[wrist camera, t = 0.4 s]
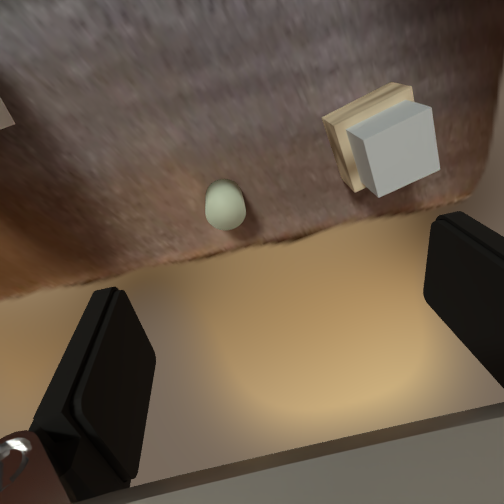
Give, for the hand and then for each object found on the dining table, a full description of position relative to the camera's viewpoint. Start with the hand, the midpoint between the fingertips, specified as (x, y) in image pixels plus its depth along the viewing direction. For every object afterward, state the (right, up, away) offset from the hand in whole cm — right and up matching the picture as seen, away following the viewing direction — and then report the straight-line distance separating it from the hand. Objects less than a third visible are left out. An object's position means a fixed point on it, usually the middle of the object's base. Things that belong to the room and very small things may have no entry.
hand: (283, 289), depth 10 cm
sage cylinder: (-5, +9, +35) cm, 36 cm away
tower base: (+14, +16, +33) cm, 39 cm away
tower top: (+14, +14, +29) cm, 35 cm away
